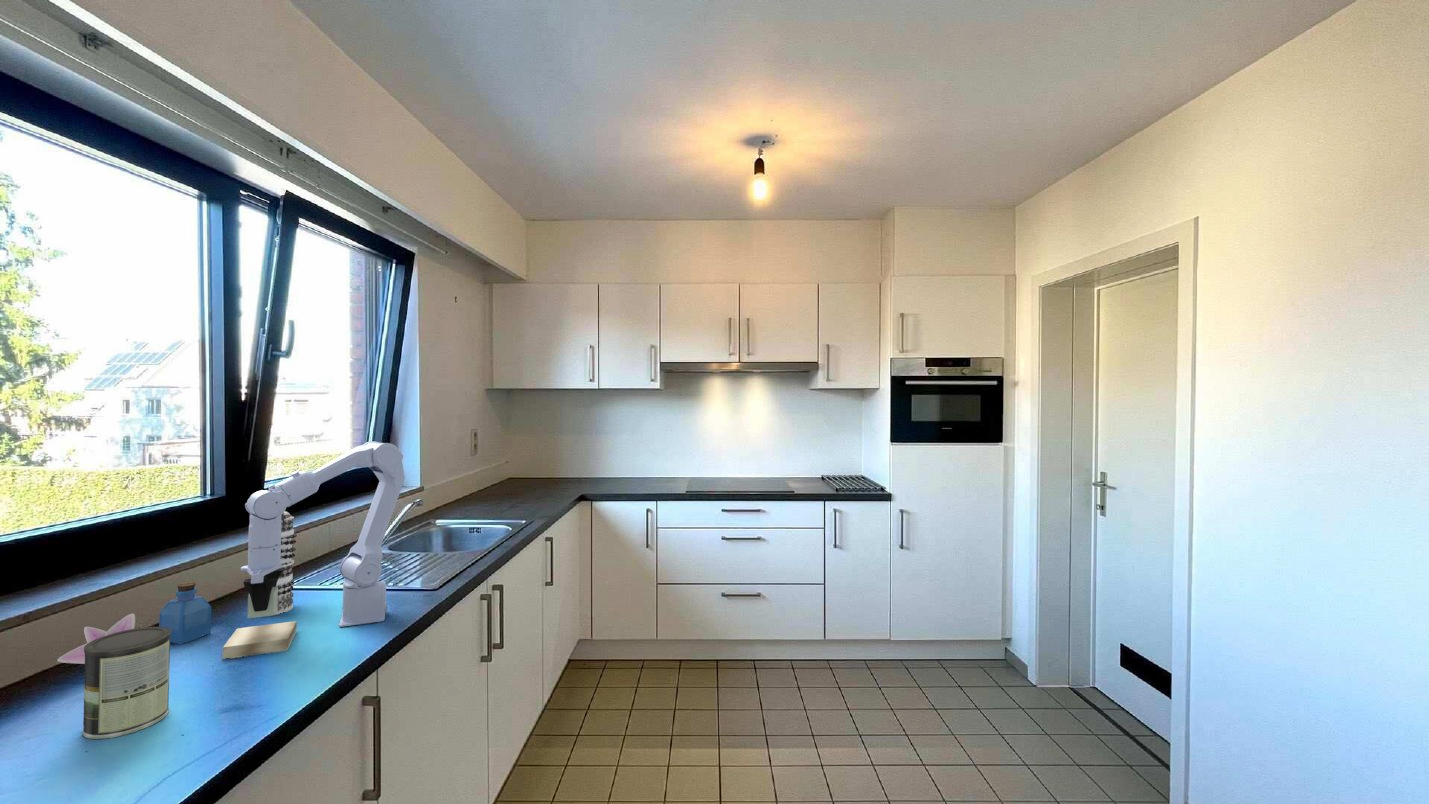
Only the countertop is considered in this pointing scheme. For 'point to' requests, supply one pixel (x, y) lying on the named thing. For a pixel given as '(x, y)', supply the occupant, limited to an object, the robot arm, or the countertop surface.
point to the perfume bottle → (186, 615)
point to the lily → (95, 633)
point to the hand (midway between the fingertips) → (263, 606)
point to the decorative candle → (286, 564)
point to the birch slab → (260, 639)
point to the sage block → (270, 609)
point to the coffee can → (126, 682)
